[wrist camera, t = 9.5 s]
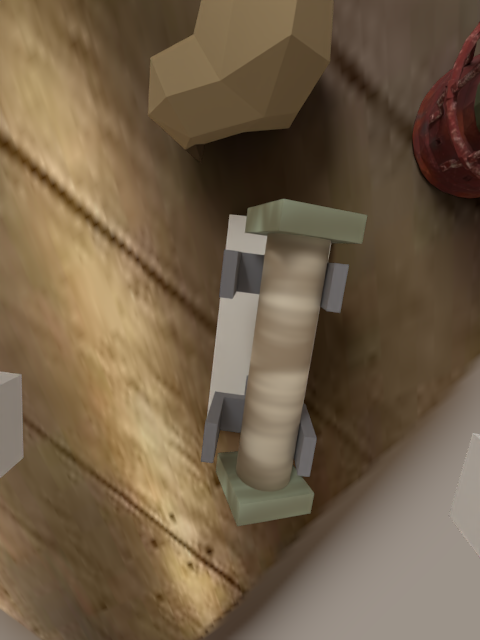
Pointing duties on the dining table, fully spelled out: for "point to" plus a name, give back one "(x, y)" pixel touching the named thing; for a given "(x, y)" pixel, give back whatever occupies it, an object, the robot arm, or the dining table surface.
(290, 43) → the low-poly potato
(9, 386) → the robot arm
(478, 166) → the lantern
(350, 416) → the dining table surface
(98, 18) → the dining table surface
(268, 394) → the column
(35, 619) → the dining table surface
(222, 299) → the bracket
